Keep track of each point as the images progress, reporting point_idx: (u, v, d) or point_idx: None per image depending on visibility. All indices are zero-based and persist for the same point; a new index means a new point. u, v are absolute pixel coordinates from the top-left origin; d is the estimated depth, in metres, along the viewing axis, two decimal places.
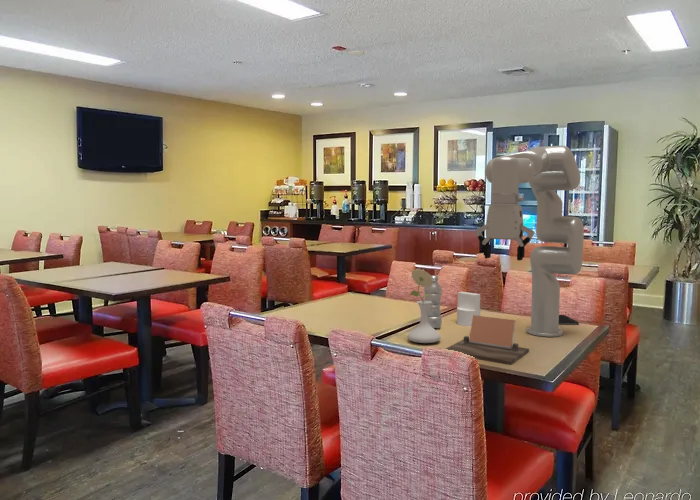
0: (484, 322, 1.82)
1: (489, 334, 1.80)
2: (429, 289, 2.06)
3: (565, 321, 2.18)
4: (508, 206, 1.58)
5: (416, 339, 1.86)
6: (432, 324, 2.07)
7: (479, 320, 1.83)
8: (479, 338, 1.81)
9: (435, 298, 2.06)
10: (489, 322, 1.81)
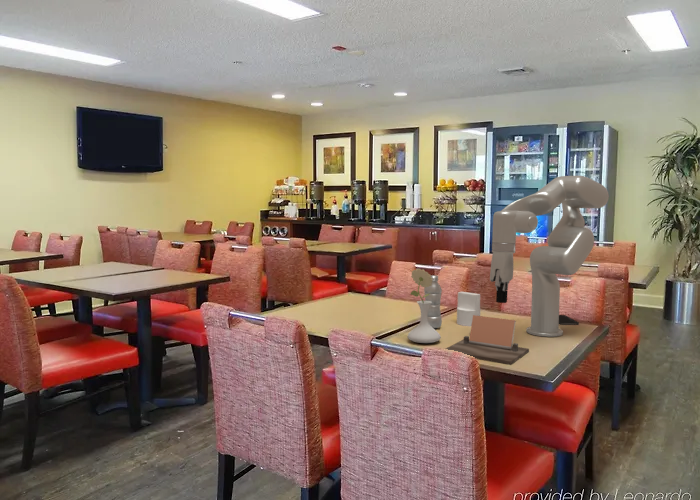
0: (484, 322, 1.82)
1: (489, 334, 1.80)
2: (429, 289, 2.06)
3: (565, 321, 2.18)
4: (512, 253, 1.86)
5: (416, 339, 1.86)
6: (432, 324, 2.07)
7: (479, 320, 1.83)
8: (479, 338, 1.81)
9: (435, 298, 2.06)
10: (489, 322, 1.81)
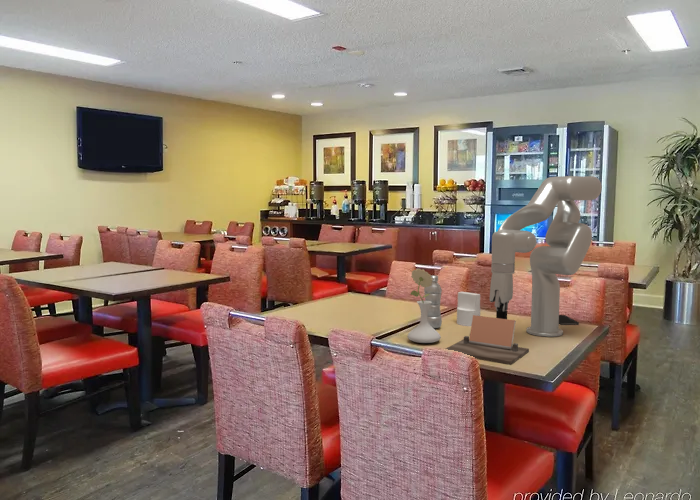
0: (484, 322, 1.82)
1: (489, 334, 1.80)
2: (429, 289, 2.06)
3: (565, 321, 2.18)
4: None
5: (416, 339, 1.86)
6: (432, 324, 2.07)
7: (479, 320, 1.83)
8: (479, 338, 1.81)
9: (435, 298, 2.06)
10: (489, 322, 1.81)
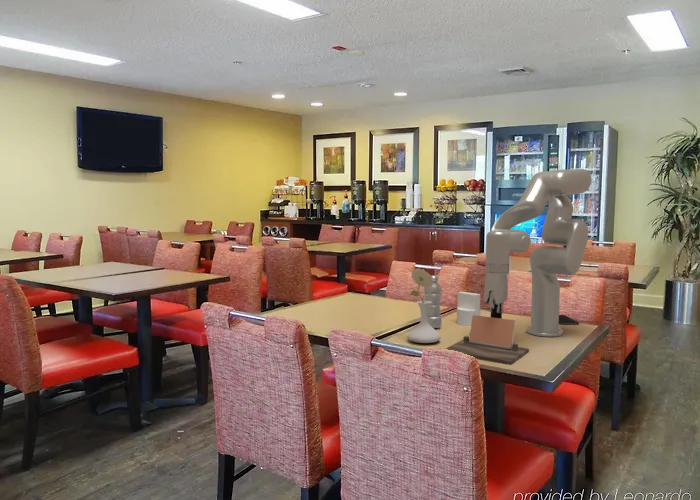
0: (484, 322, 1.82)
1: (489, 334, 1.80)
2: (429, 289, 2.06)
3: (565, 321, 2.18)
4: (506, 273, 1.82)
5: (416, 339, 1.86)
6: (432, 324, 2.07)
7: (479, 320, 1.83)
8: (479, 338, 1.81)
9: (435, 298, 2.06)
10: (489, 322, 1.81)
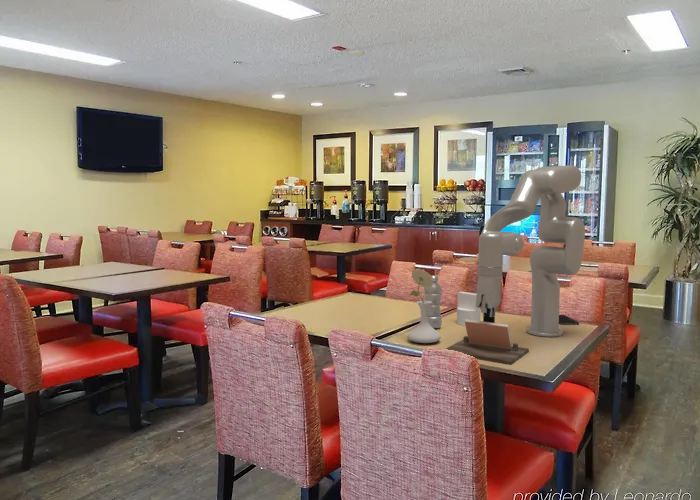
0: (478, 328, 1.78)
1: (486, 337, 1.78)
2: (429, 289, 2.06)
3: (565, 321, 2.18)
4: None
5: (416, 339, 1.86)
6: (432, 324, 2.07)
7: (472, 326, 1.78)
8: (478, 340, 1.80)
9: (435, 298, 2.06)
10: (483, 328, 1.76)
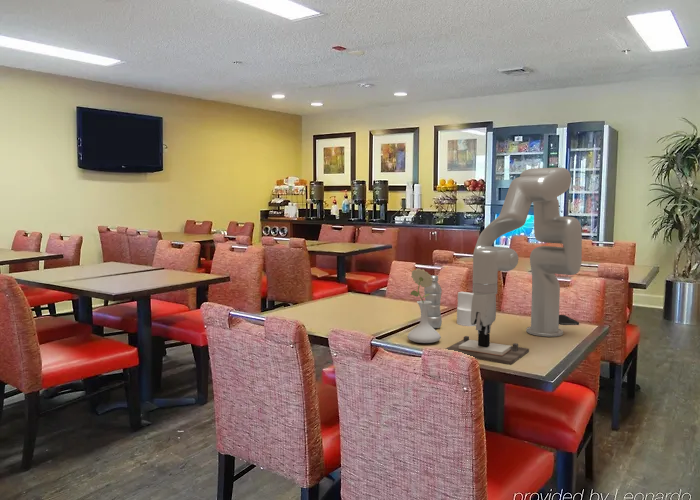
0: None
1: None
2: (429, 289, 2.06)
3: (565, 321, 2.18)
4: None
5: (416, 339, 1.86)
6: (432, 324, 2.07)
7: None
8: None
9: (435, 298, 2.06)
10: None
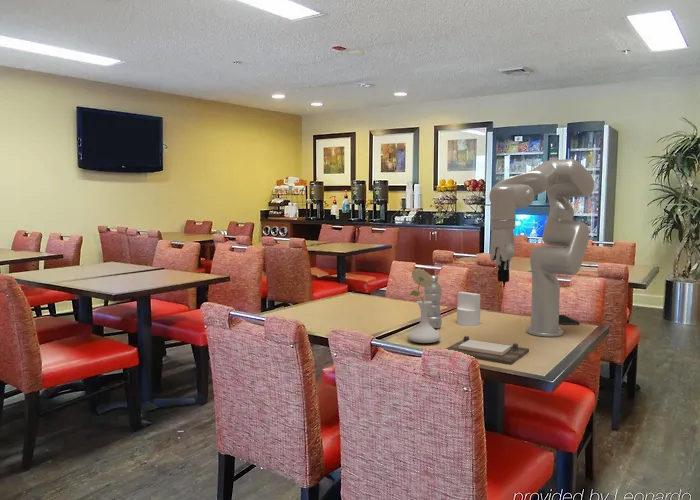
0: None
1: None
2: (429, 289, 2.06)
3: (565, 321, 2.18)
4: (512, 229, 1.77)
5: (416, 339, 1.86)
6: (432, 324, 2.07)
7: None
8: None
9: (435, 298, 2.06)
10: None
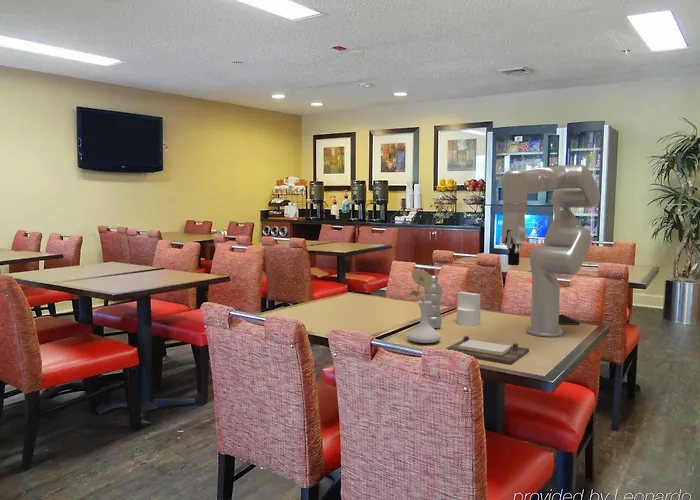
0: None
1: None
2: (429, 289, 2.06)
3: (565, 321, 2.18)
4: (523, 214, 1.81)
5: (416, 339, 1.86)
6: (432, 324, 2.07)
7: None
8: None
9: (435, 298, 2.06)
10: None
